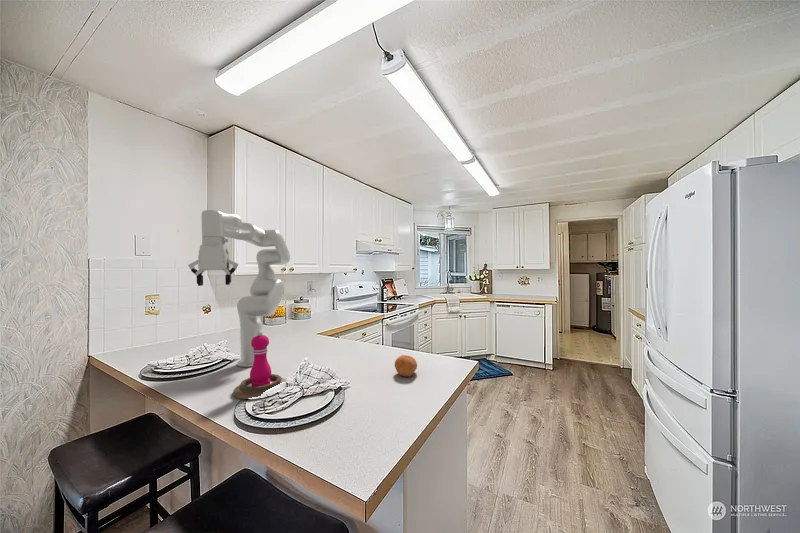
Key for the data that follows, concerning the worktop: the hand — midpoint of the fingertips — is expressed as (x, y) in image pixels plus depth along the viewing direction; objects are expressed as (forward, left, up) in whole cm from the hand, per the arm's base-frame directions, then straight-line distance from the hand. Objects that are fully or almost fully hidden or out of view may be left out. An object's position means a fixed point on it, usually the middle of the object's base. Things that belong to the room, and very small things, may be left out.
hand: (214, 285), depth 119 cm
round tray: (+13, +19, -38) cm, 45 cm away
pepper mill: (+13, +19, -37) cm, 44 cm away
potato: (+13, +74, -39) cm, 84 cm away
